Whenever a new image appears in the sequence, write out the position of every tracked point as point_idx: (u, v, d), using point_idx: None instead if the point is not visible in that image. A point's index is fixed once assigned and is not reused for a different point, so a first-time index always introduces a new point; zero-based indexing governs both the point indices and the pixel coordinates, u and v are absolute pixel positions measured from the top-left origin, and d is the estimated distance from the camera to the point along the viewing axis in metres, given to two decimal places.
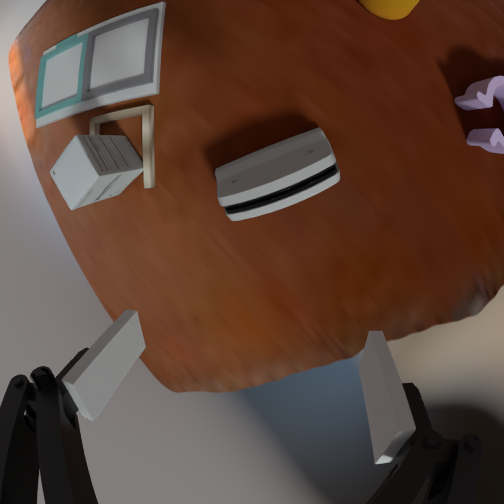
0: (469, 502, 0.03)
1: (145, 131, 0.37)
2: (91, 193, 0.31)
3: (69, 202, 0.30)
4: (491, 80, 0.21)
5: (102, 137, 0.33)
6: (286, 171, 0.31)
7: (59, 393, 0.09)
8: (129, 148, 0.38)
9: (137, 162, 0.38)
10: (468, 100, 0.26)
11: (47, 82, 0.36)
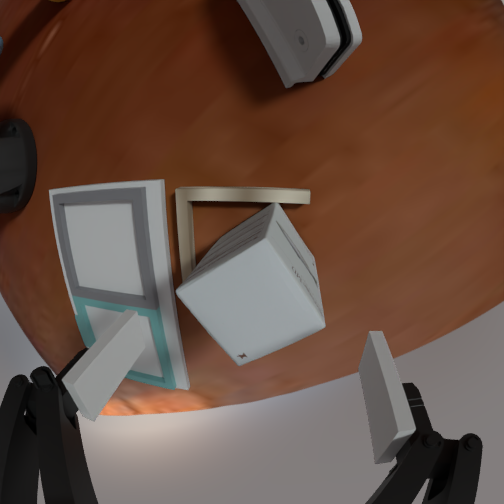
0: (469, 502, 0.03)
1: (216, 195, 0.26)
2: (301, 275, 0.18)
3: (308, 328, 0.17)
4: None
5: (204, 257, 0.23)
6: None
7: (59, 393, 0.09)
8: (239, 225, 0.27)
9: (264, 210, 0.26)
10: None
11: None
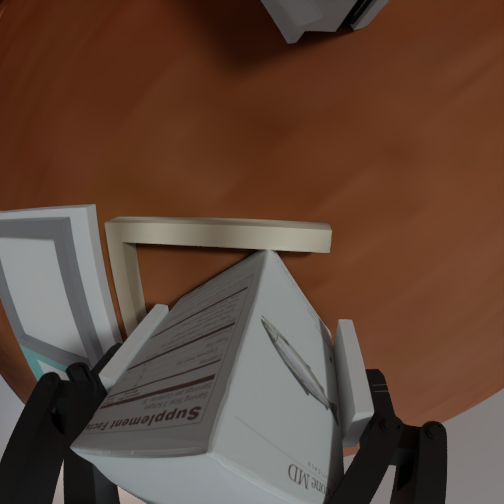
0: (440, 490, 0.04)
1: (164, 234, 0.15)
2: (309, 459, 0.06)
3: None
4: None
5: (135, 360, 0.11)
6: None
7: (95, 390, 0.09)
8: (206, 287, 0.15)
9: (247, 264, 0.14)
10: None
11: None
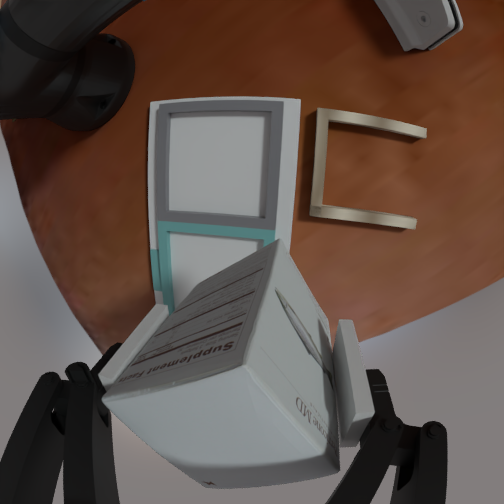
0: (440, 490, 0.04)
1: (355, 118, 0.26)
2: (311, 401, 0.09)
3: (312, 474, 0.08)
4: None
5: (161, 329, 0.14)
6: None
7: (94, 390, 0.09)
8: (223, 272, 0.18)
9: (260, 254, 0.17)
10: None
11: None
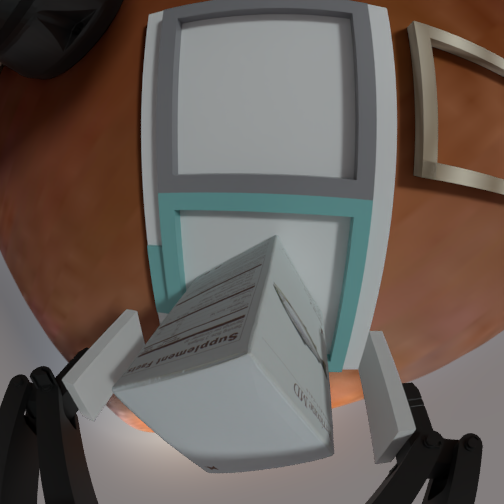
0: (469, 502, 0.03)
1: (460, 43, 0.11)
2: (307, 387, 0.10)
3: (309, 457, 0.09)
4: None
5: (165, 321, 0.15)
6: None
7: (59, 393, 0.09)
8: (222, 267, 0.19)
9: (258, 249, 0.18)
10: None
11: None
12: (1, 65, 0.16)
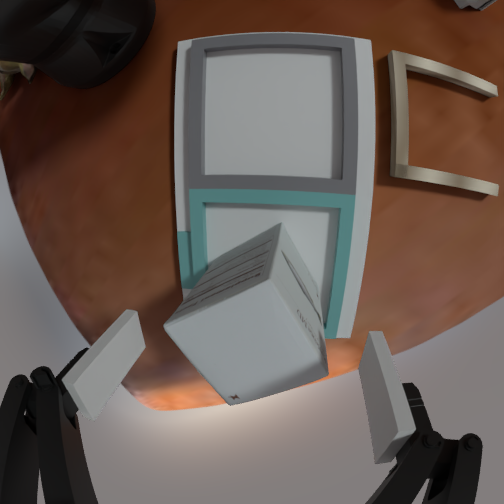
0: (469, 502, 0.03)
1: (432, 66, 0.17)
2: (306, 317, 0.15)
3: (310, 376, 0.15)
4: None
5: (198, 283, 0.20)
6: None
7: (59, 393, 0.09)
8: (239, 246, 0.24)
9: (268, 232, 0.23)
10: None
11: None
12: (33, 72, 0.21)
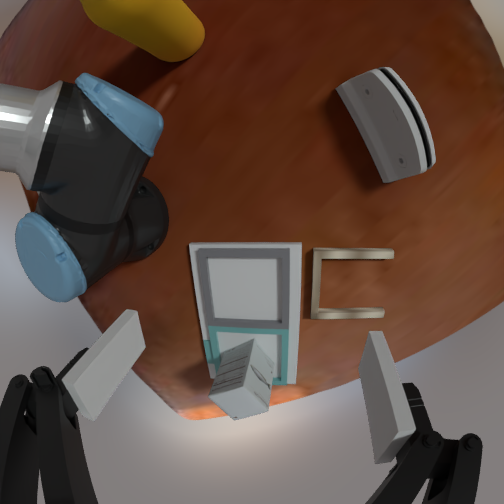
0: (469, 502, 0.03)
1: (340, 255, 0.42)
2: (259, 392, 0.40)
3: (261, 411, 0.40)
4: None
5: (218, 373, 0.45)
6: (394, 109, 0.28)
7: (59, 393, 0.09)
8: (235, 350, 0.49)
9: (247, 346, 0.48)
10: None
11: None
12: None
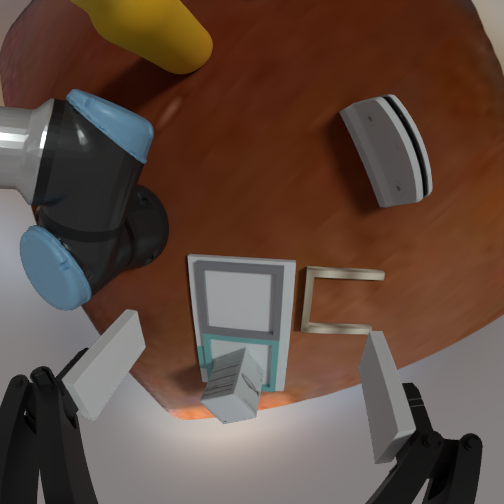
0: (469, 502, 0.03)
1: (332, 274, 0.43)
2: (248, 399, 0.42)
3: (249, 417, 0.41)
4: None
5: (210, 379, 0.47)
6: (395, 139, 0.30)
7: (59, 393, 0.09)
8: (227, 357, 0.51)
9: (239, 354, 0.50)
10: None
11: None
12: None
